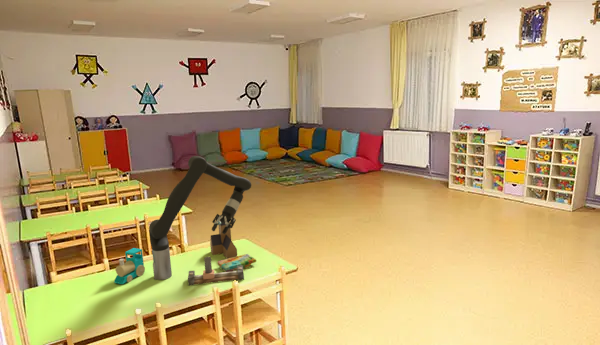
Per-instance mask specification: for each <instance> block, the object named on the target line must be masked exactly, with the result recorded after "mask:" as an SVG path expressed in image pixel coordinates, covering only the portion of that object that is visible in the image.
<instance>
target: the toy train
mask: <svg viewBox="0 0 600 345" xmlns="http://www.w3.org/2000/svg"><path fill="white" fill-rule="evenodd" d="M138 253H140V254H138ZM128 255H130V256H132V257H128ZM124 261H125V262H124ZM118 262H119V264H118V265H117V266H116V267H115V272H116V274H117V275H116V277H115V279H114V281H113V283H114V284H119V285H123V284H126V283H131V282H132V281H133V279H134V278H137V277H141V276H143V275H144V274H145V270H146V268H145V265H144V264H145V263H144V256H143V249H142V248H138V247H137V248H136V247H132V248H130V249H129V250H127V251H125V258H120V259H118Z"/></svg>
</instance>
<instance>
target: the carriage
mask: <svg viewBox="0 0 600 345" xmlns="http://www.w3.org/2000/svg"><path fill="white" fill-rule="evenodd" d="M203 258H204V270H202V275H203V280H204V279H213V278H214V273H215V269H213V268H212V267H213V266H212V258H211V256H205V257H203Z"/></svg>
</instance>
